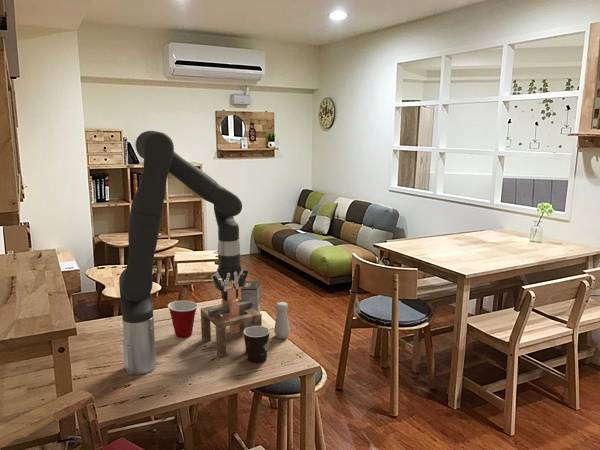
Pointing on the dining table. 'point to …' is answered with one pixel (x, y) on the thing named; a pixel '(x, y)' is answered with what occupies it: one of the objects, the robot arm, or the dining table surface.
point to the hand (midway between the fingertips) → (230, 299)
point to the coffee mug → (256, 343)
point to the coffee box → (251, 296)
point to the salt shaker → (281, 321)
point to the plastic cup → (183, 317)
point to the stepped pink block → (232, 308)
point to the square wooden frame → (226, 322)
